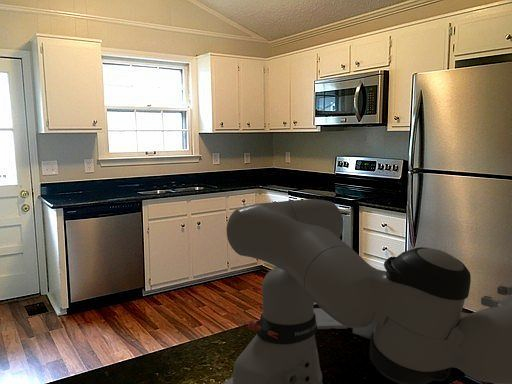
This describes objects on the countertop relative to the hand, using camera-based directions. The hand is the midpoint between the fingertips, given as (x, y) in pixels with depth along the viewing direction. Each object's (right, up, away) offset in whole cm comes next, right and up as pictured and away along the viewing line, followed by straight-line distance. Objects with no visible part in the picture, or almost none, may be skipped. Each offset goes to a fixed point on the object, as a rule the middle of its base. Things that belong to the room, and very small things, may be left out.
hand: (490, 294), depth 101 cm
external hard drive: (-33, -14, +24) cm, 44 cm away
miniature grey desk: (-15, -13, +22) cm, 29 cm away
